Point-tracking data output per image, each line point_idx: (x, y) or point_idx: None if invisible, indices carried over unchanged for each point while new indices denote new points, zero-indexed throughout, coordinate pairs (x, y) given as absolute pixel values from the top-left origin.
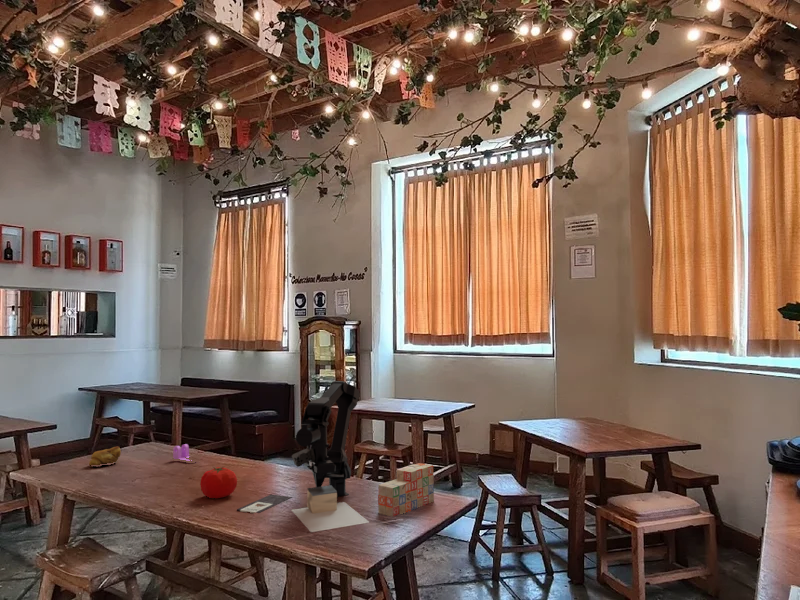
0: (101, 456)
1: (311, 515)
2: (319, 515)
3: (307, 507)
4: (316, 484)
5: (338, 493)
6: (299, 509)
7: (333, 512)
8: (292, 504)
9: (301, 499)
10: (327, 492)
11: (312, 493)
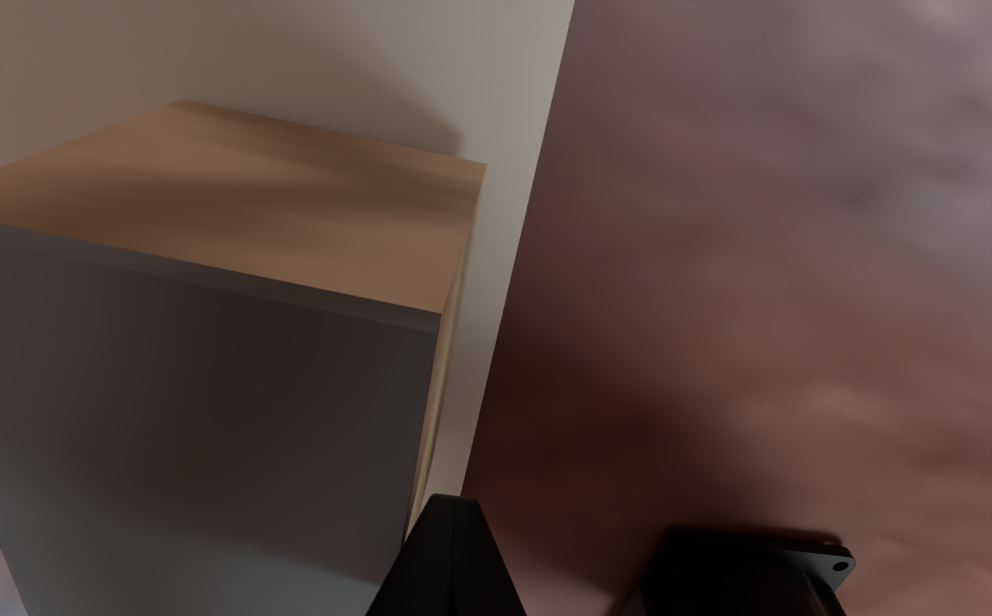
0: None
1: (87, 41)
2: (40, 147)
3: (526, 179)
4: (401, 575)
5: (639, 610)
6: (518, 21)
7: None
8: (902, 82)
9: (961, 291)
10: (8, 526)
11: None
